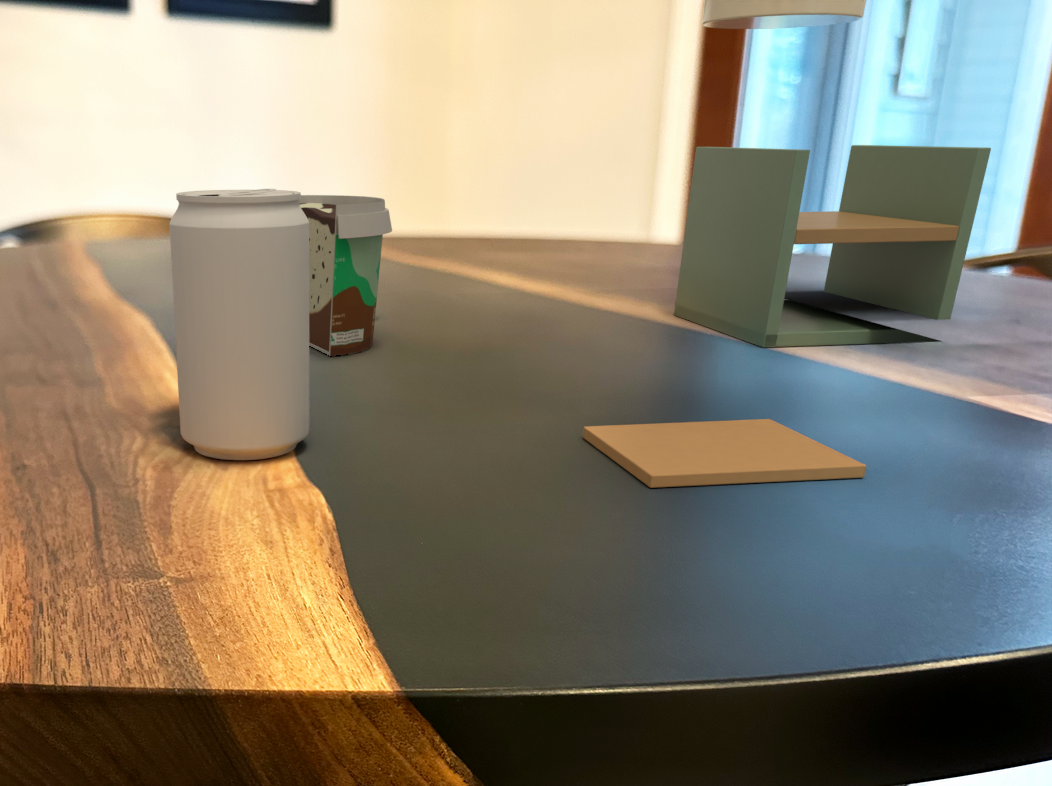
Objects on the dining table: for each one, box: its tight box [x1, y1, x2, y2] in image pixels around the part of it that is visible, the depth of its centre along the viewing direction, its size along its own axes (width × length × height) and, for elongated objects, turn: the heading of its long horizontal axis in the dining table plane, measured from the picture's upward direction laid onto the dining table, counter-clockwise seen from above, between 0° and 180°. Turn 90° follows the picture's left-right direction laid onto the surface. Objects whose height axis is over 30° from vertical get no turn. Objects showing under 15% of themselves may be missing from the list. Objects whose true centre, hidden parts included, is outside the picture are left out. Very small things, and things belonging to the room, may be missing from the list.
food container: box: [299, 194, 393, 357], centre depth 73 cm, size 12×6×10 cm, turn 22°
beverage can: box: [168, 188, 310, 461], centre depth 48 cm, size 6×6×12 cm
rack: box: [673, 144, 992, 348], centre depth 76 cm, size 14×14×13 cm
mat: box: [582, 418, 867, 489], centre depth 48 cm, size 10×8×1 cm
